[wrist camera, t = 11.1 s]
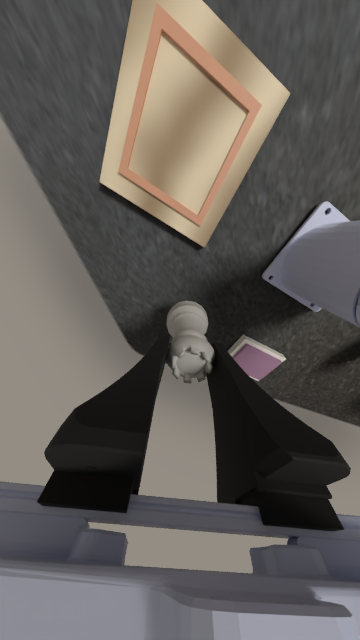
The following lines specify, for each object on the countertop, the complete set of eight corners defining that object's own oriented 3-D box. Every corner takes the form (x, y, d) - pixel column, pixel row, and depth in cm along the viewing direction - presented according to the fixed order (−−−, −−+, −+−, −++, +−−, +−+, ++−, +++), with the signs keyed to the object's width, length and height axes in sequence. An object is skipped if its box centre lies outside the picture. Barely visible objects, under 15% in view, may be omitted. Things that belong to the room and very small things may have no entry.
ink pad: (282, 354, 23) (288, 361, 22) (255, 376, 26) (259, 383, 25) (243, 334, 21) (247, 340, 20) (219, 359, 24) (221, 366, 23)
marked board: (283, 102, 11) (292, 91, 10) (203, 247, 16) (204, 247, 15) (147, -37, 8) (143, -69, 8) (103, 184, 13) (98, 181, 13)
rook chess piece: (198, 292, 15) (214, 323, 8) (212, 328, 17) (237, 382, 9) (160, 309, 16) (140, 351, 8) (177, 341, 17) (173, 402, 10)
